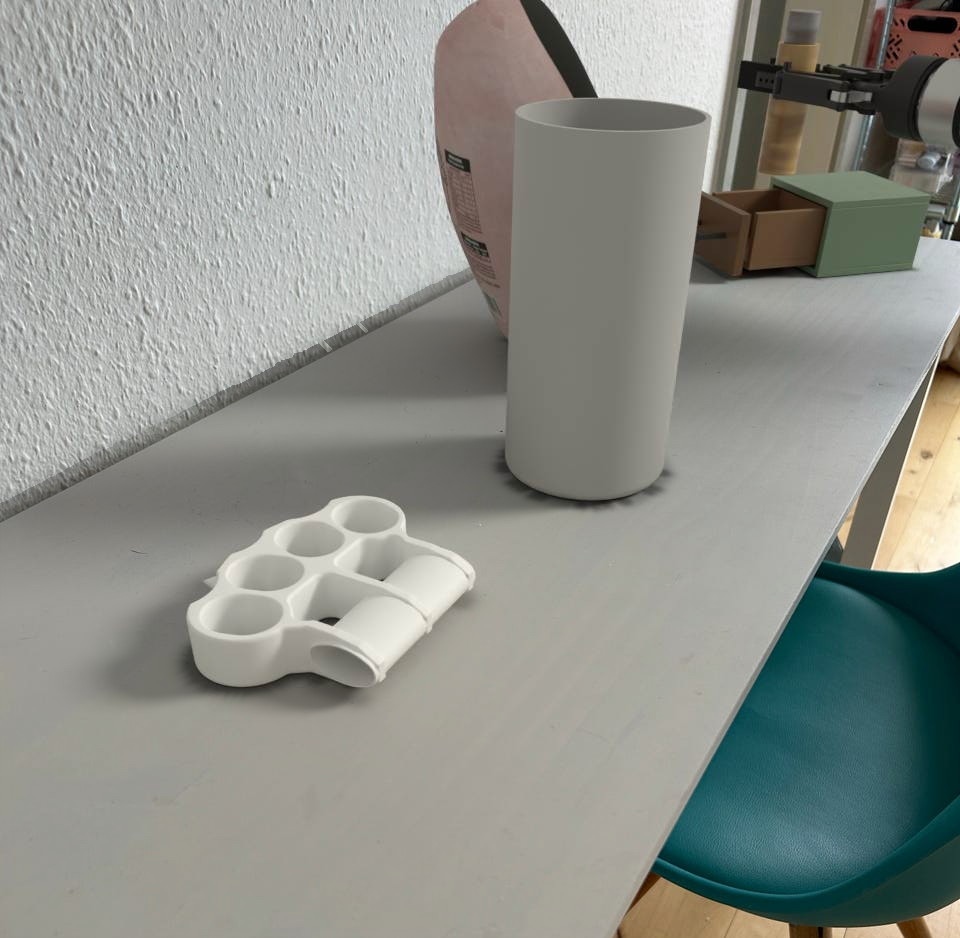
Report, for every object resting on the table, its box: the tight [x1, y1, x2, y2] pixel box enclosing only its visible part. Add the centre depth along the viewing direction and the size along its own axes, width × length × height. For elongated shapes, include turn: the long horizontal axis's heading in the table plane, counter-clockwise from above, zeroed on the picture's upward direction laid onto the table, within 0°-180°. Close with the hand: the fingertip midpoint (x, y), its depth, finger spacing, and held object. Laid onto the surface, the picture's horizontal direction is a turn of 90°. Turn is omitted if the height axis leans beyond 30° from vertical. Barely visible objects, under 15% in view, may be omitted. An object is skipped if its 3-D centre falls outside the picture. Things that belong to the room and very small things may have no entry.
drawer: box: [693, 187, 828, 277], centre depth 119 cm, size 17×12×7 cm
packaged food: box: [433, 0, 599, 340], centre depth 89 cm, size 22×20×30 cm
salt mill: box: [756, 8, 822, 176], centre depth 111 cm, size 4×4×16 cm
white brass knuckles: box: [185, 495, 477, 688], centre depth 61 cm, size 3×18×15 cm
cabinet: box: [768, 170, 932, 279], centre depth 123 cm, size 14×14×9 cm
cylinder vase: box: [504, 97, 713, 501], centre depth 71 cm, size 12×12×25 cm
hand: (756, 72), depth 114 cm, fingers closed on salt mill, 4 cm apart
